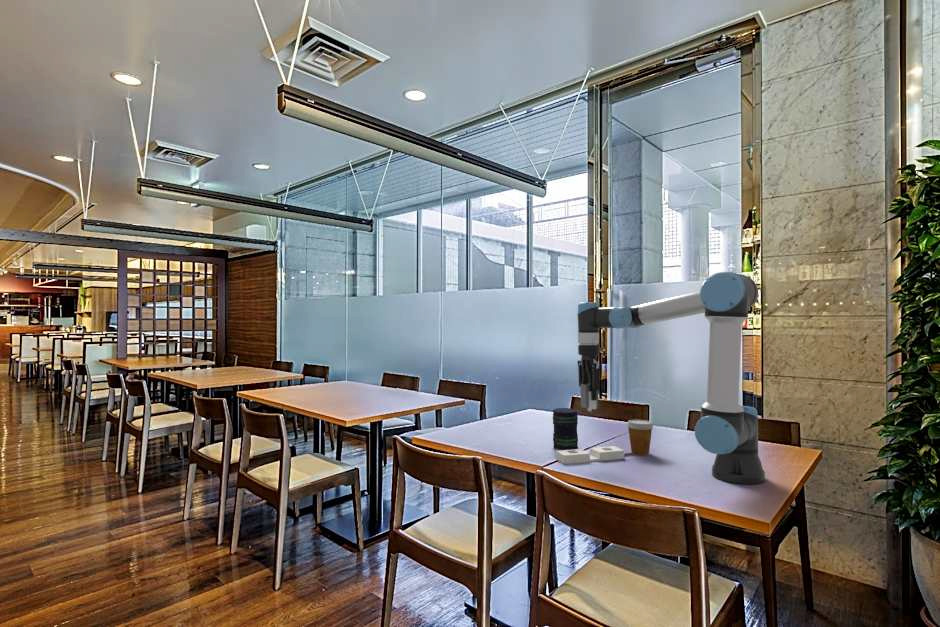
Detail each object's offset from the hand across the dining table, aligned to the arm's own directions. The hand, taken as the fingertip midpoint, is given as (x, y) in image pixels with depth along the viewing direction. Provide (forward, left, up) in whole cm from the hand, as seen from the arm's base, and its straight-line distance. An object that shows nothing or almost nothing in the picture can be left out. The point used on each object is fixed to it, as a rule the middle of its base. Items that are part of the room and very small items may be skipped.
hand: (589, 407), depth 189 cm
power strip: (0, -3, -19) cm, 19 cm away
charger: (0, 0, -1) cm, 1 cm away
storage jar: (+18, +1, -19) cm, 26 cm away
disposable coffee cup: (+1, -22, -19) cm, 29 cm away
